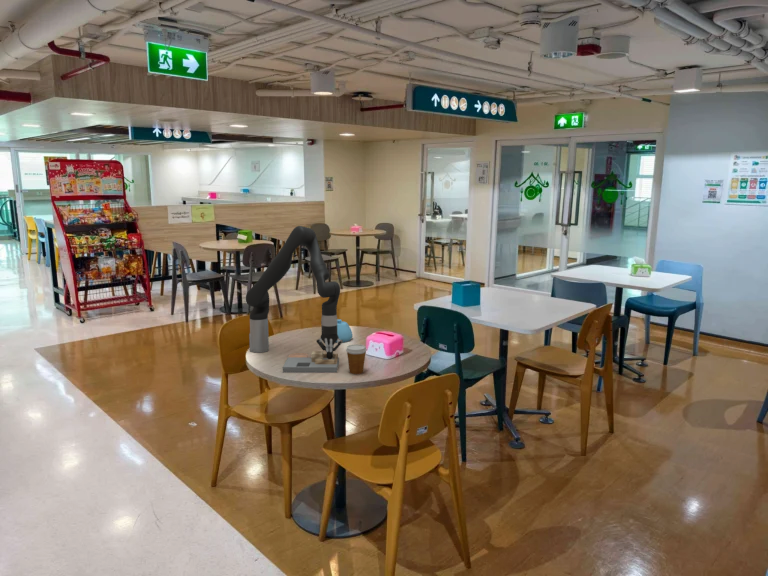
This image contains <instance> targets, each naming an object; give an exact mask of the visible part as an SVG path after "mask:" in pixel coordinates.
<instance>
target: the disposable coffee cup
mask: <svg viewBox="0 0 768 576" xmlns="http://www.w3.org/2000/svg"><path fill="white" fill-rule="evenodd" d="M367 350H368V349H367V346H366V345H363V344H350V345H348V346H347V347H346V349H345V351H346V355H347V362H348V370H349V373H350V374H352V375H360V374H363V373H364V367H365V360H366V352H367Z"/></svg>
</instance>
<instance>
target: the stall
mask: <svg viewBox="0 0 768 576" xmlns="http://www.w3.org/2000/svg"><path fill="white" fill-rule="evenodd" d="M323 358H327V353H323ZM333 358H335V359H334V360H315V364H337V360H338V358H339V353H333Z"/></svg>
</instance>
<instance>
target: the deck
mask: <svg viewBox="0 0 768 576" xmlns="http://www.w3.org/2000/svg"><path fill="white" fill-rule="evenodd" d="M334 359H335V358H332V359H328V358H323V360H334ZM339 365H340V357H338V360H337V364H315V362H312V356H311V357H309V356H308V357H287V358H286V360H285V362H284V363H283V366H282V373H327V374H328V373H334V374H335V373H338V369H339Z"/></svg>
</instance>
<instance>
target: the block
mask: <svg viewBox="0 0 768 576" xmlns="http://www.w3.org/2000/svg"><path fill="white" fill-rule="evenodd" d="M323 354H324V350H312V352H311V357H312V362H315V360H323Z"/></svg>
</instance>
